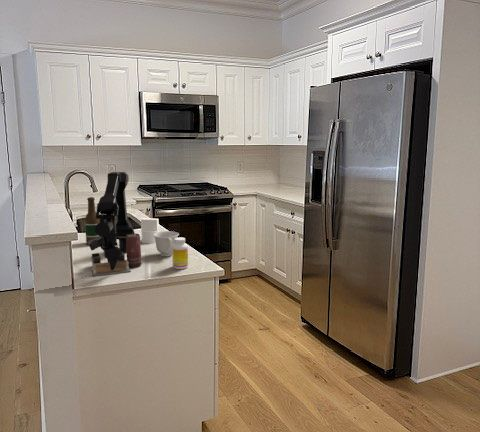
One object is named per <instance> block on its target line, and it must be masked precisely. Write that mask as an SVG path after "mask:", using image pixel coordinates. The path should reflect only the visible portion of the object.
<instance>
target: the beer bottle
mask: <svg viewBox="0 0 480 432" xmlns="http://www.w3.org/2000/svg"><path fill="white" fill-rule="evenodd" d="M96 211H97V210H96V204H95V197H93V196H91V197H90V196H89V197H87V213H86V216H85V219H84V230H85V242H86V243H85V244H86V245H87V246H89V245H88V241H89V240H92V239H94V238H96V237H99V235H97V234H96V232H95V227H96V225H97V224H98V223H99V222H100V219H96Z"/></svg>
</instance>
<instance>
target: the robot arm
mask: <svg viewBox="0 0 480 432" xmlns="http://www.w3.org/2000/svg"><path fill="white" fill-rule="evenodd" d="M129 179H130V178H129V174H128V173H127V172H125V171H111V172H109V173H107V182H106V183H107V184H106V186H105V192H104V194H103V196H101V197H100V198H99V200H98V202H97V204H96V210H95V211H96V219H99V220H100V222H99V223H98V224H97V225H96V227H95V232H96V234H97V235H99V237H96V238H94V239H92V240H89V241H88V245H87V246H88V247H89V248H90V251H95V249H98V248H100V249H102V250H103V256H104V258H106V260H107V261H106V262H109V264H110V268H111V270H114V268H115V266H116V263H117V261H118V258H119V256H120V255H121V251H123V253H126V235H128V234H135V230H134V228H133V225H132V221H130V219H129V218H128V212H127V211H128V210H127V209H128V208H127V200H126V188H127V186H128V183H129ZM116 219H117V220H116ZM117 241H118V242H117Z"/></svg>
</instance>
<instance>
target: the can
mask: <svg viewBox="0 0 480 432" xmlns="http://www.w3.org/2000/svg"><path fill="white" fill-rule="evenodd" d="M134 233H135V232H134ZM141 243H142V241H141V236H140V234H139V233H137V232H136V233H135V234H128V235H126V252H125V253H126V260H128V262H129V269H133V268H134V269H135V268H140V267H142V247H141V246H142V245H141Z"/></svg>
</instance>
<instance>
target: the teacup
mask: <svg viewBox="0 0 480 432" xmlns="http://www.w3.org/2000/svg"><path fill="white" fill-rule="evenodd" d="M179 235H180V233H179V232H176V231H173V230H172V231H171V230H169V231H167V230H164V231H159V232H157V233H155V234H153V236H154V237H155V242H156V243H155V246H156V247H155V248H156V250H157V252H159V253H160V256H161V257H170V256H172V246H173V245H174V244H175V242H174V239H175V238H178V236H179Z"/></svg>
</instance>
